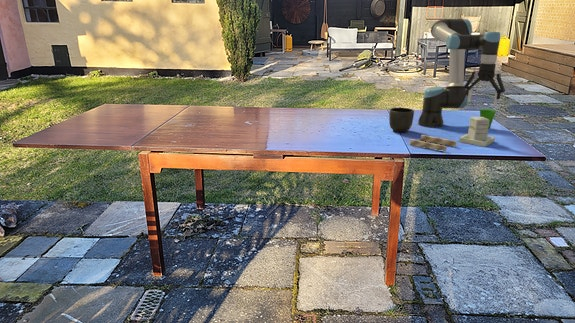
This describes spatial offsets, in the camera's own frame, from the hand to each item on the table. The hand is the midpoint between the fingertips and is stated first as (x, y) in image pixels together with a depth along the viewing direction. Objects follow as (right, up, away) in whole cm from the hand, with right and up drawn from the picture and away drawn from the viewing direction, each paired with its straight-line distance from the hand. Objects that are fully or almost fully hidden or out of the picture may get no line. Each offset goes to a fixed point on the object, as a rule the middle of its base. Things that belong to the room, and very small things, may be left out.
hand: (481, 103), depth 226 cm
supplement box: (0, -20, +6) cm, 20 cm away
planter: (-36, -13, +27) cm, 47 cm away
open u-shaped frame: (-27, -23, -2) cm, 35 cm away
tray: (0, -20, +6) cm, 21 cm away
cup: (+17, -11, +33) cm, 39 cm away
